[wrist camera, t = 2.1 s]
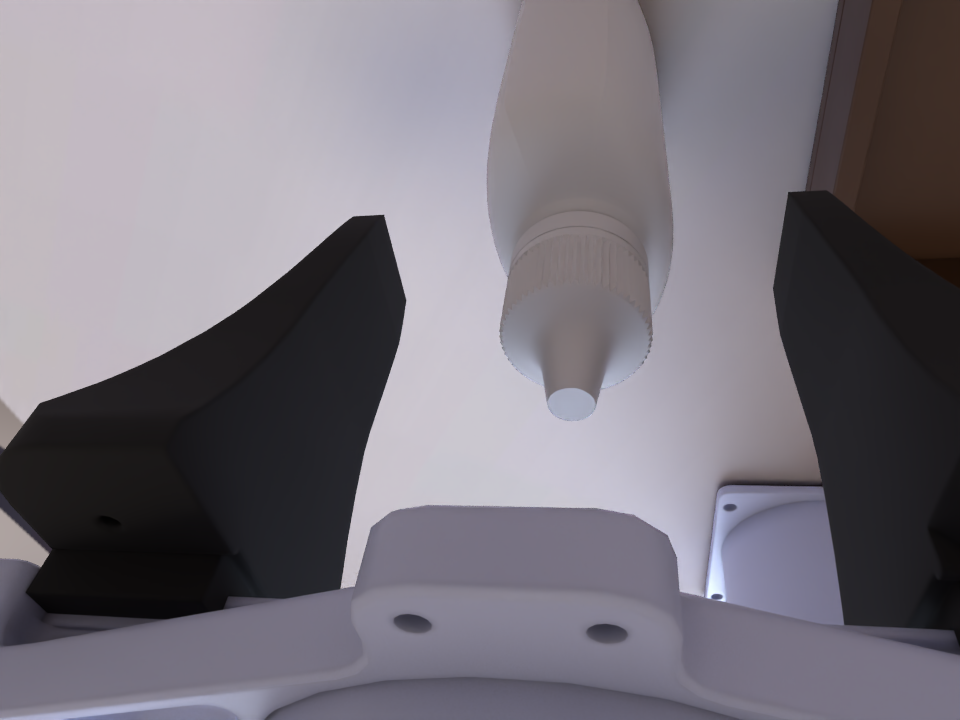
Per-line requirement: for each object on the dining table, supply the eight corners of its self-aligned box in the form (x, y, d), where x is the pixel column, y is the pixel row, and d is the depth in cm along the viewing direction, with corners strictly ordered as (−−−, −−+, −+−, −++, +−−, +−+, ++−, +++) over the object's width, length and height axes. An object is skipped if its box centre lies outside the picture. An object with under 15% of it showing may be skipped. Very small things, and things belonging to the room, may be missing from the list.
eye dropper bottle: (483, 145, 21) (394, 478, 12) (540, -67, 17) (469, 202, 9) (627, 187, 21) (639, 541, 13) (715, -12, 18) (817, 301, 9)
